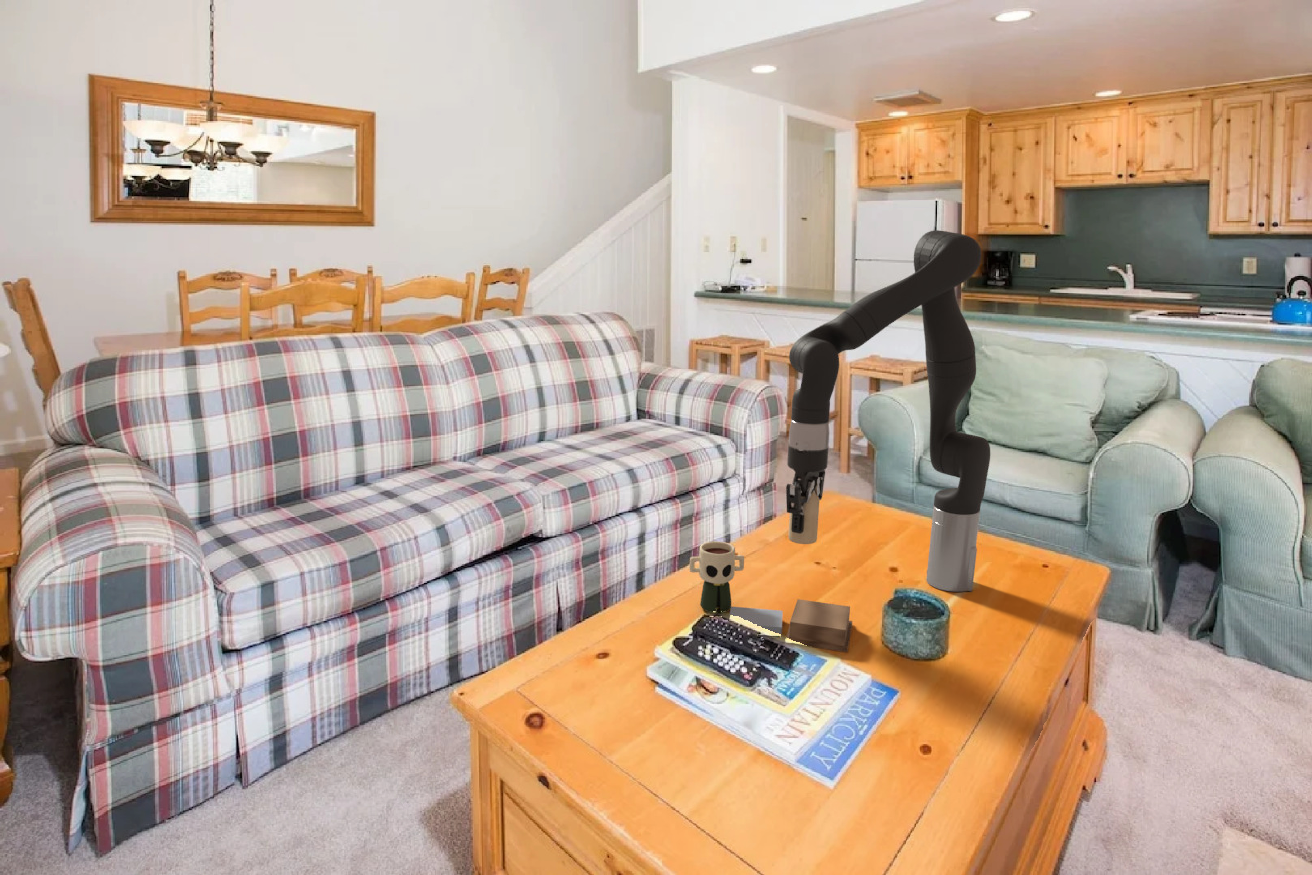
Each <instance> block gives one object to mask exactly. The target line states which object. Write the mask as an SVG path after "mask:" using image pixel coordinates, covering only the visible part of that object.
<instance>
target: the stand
mask: <svg viewBox="0 0 1312 875" xmlns="http://www.w3.org/2000/svg"><path fill="white" fill-rule="evenodd" d="M850 611H851V606H849V605H842V604H834V603H829V602H819V601H814V600H806V599H805V600H804V599H799V598H797V600H796V603H795V606H794V609H793V611H792V615H791V617H790V621H789V627H788V630H787V633H786V636H785V638H786V637H787V638H789V639H791V640H793V641H796V642H800V643H802V644H804V645H807V646H806V647H810V646H812V647H811V648H817V649H824V650H829V651H836V652H843V653H848V651H849V650H848V649H849V645H850V640H851V635H852V634H851V633H852V627H853V621H852V620H850V615H851V612H850Z"/></svg>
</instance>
